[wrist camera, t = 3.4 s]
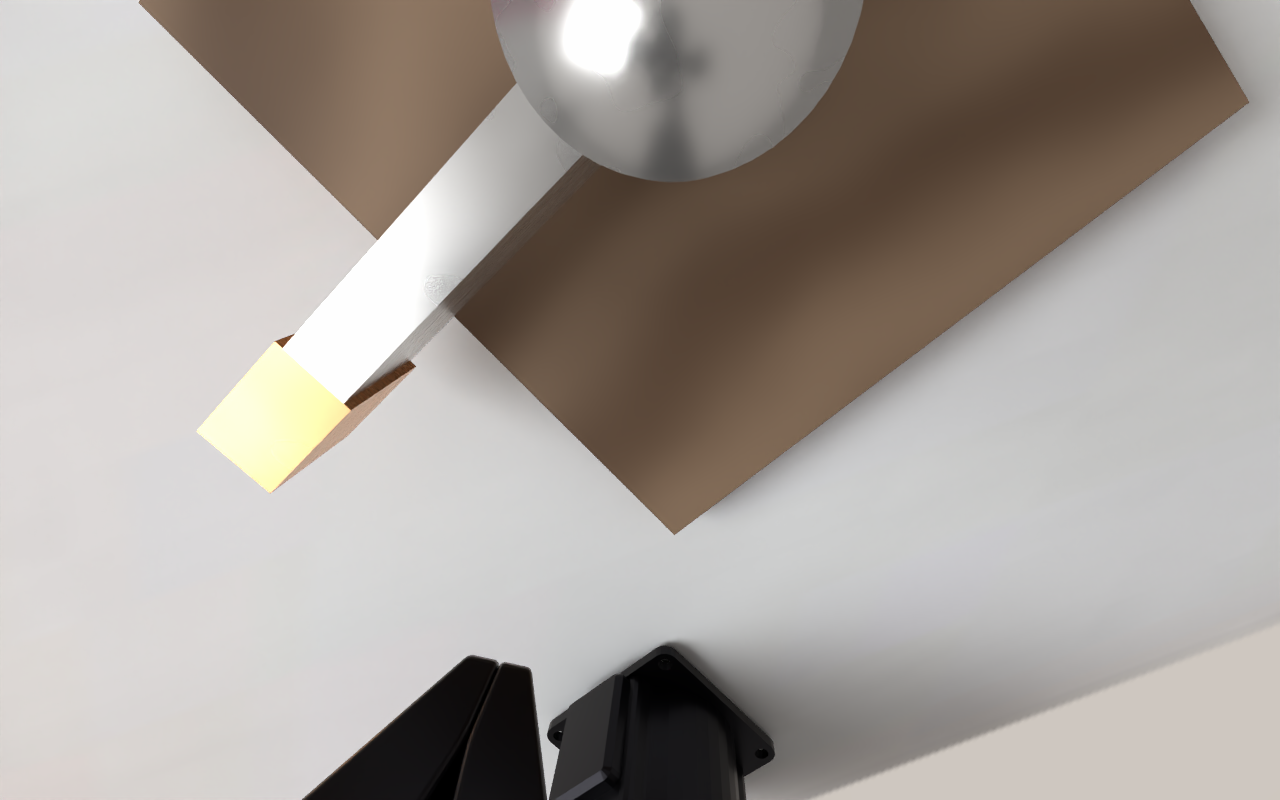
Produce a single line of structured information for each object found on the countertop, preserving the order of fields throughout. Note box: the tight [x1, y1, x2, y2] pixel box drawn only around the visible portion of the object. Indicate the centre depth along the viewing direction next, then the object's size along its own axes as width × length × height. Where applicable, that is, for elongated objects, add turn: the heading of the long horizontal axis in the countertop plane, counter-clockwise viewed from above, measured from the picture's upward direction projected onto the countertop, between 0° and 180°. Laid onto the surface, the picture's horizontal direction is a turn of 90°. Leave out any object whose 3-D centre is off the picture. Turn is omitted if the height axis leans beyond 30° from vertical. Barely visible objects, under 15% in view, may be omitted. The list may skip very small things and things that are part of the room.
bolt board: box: [139, 0, 1249, 535], centre depth 13 cm, size 20×18×6 cm
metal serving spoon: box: [197, 0, 863, 493], centre depth 13 cm, size 16×6×4 cm, turn 133°
